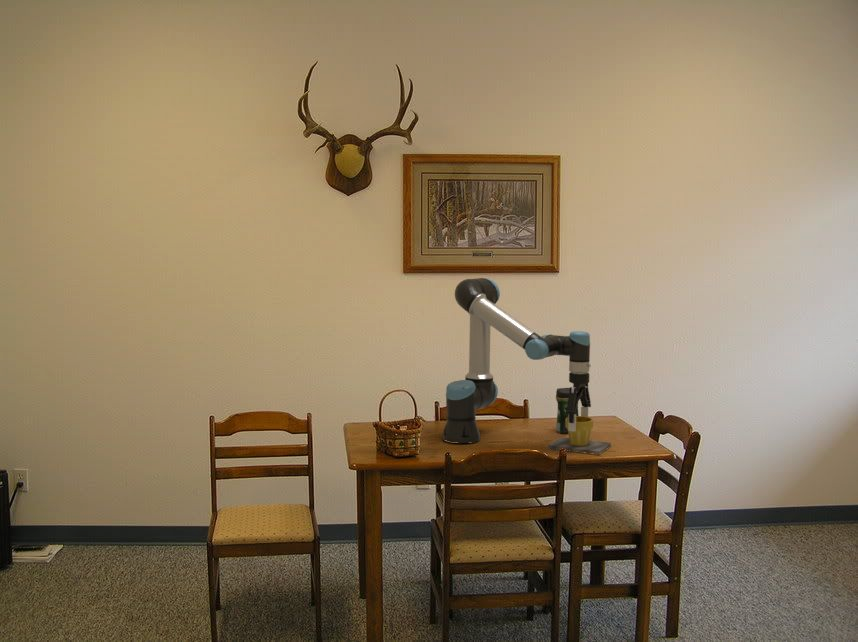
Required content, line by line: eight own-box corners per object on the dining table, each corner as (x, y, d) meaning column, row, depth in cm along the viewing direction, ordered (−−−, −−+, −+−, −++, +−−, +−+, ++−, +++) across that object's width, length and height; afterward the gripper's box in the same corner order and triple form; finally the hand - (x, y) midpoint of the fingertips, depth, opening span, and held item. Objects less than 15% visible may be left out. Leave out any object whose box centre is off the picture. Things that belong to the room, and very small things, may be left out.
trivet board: (547, 448, 274) (547, 445, 274) (561, 440, 286) (561, 436, 286) (599, 455, 264) (599, 451, 263) (610, 446, 275) (610, 442, 275)
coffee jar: (576, 429, 304) (576, 385, 303) (581, 433, 297) (581, 389, 295) (554, 430, 304) (553, 386, 302) (558, 434, 296) (558, 390, 294)
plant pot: (566, 447, 270) (565, 421, 269) (564, 440, 280) (564, 415, 279) (594, 447, 269) (594, 421, 268) (591, 440, 279) (591, 415, 278)
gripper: (577, 378, 260) (576, 435, 262) (599, 368, 281) (598, 421, 283) (557, 376, 264) (556, 433, 266) (581, 366, 285) (580, 419, 287)
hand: (578, 427), depth 274 cm, fingers open, 13 cm apart
